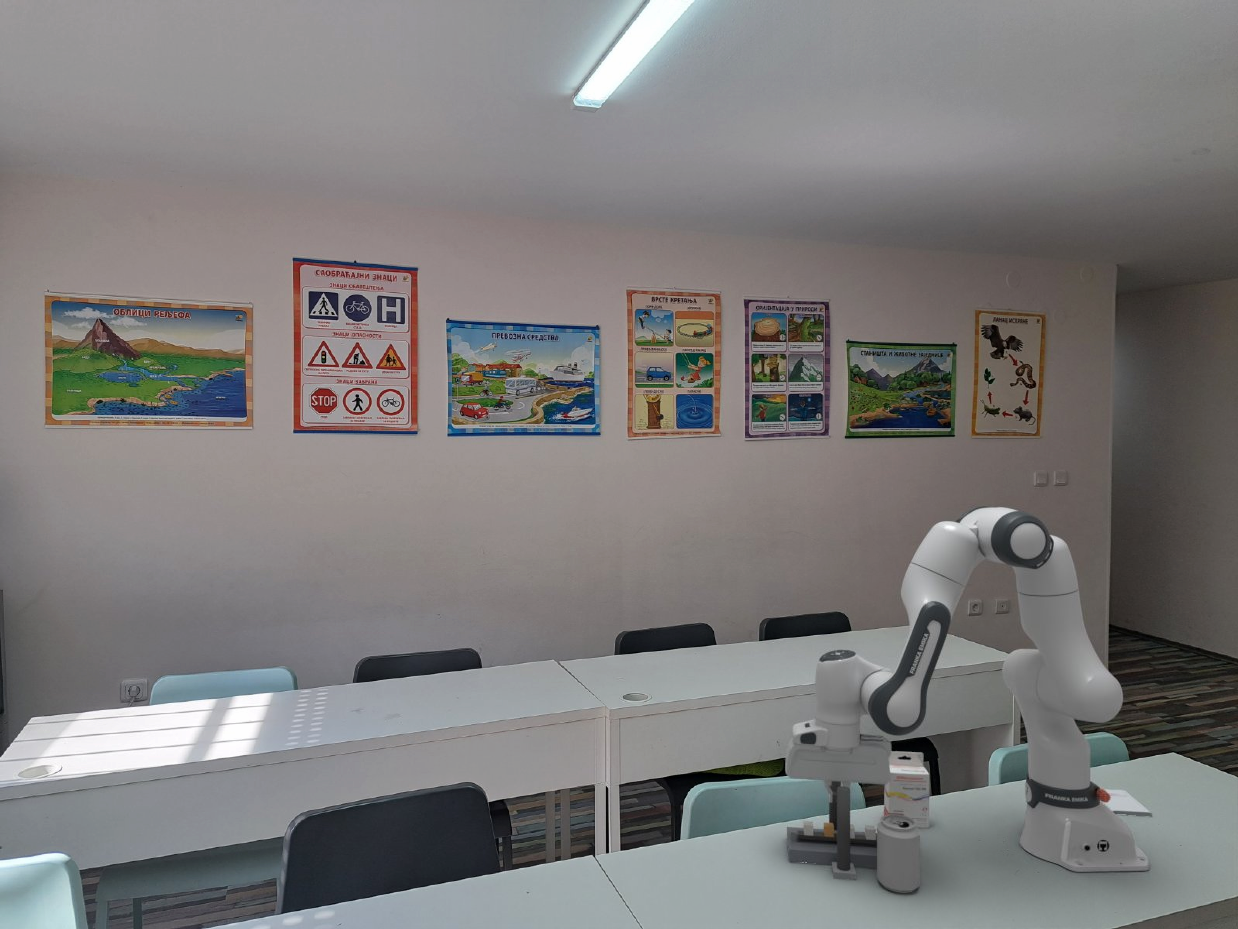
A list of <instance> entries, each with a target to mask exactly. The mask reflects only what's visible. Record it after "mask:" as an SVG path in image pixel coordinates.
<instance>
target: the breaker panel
mask: <svg viewBox="0 0 1238 929" xmlns="http://www.w3.org/2000/svg"><path fill="white" fill-rule="evenodd" d="M798 830H800V831H803V827H797V826H795V827H793V826H786V842H787V843H786V845H787V844H788V845H787V853H788V855H789V856H788V862H789V861H790V862H789V863H793V862H804V863H803V864H806V863H805V862H807V863H816V864H815V865H820V864H822V865H823V866H832V862H837V842H836V841H822V840H808V839H798ZM813 831H814V832H824V828H823V829H822V828H813ZM834 833H837V830H834ZM855 834H857V835H865V831H864V832H863V831H855ZM876 836H877V832H876ZM850 863H853V865H854V868H858V869H859V868H862V869H871V870H872V869H873V870H877V844H864V843H850ZM822 865H821V866H822Z"/></svg>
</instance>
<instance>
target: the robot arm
mask: <svg viewBox="0 0 1238 929" xmlns="http://www.w3.org/2000/svg"><path fill="white" fill-rule="evenodd" d="M985 560H986V561H988V562H992V563H996V564H1006V565H1008V566H1011V567H1012V569H1013V571H1014V574H1015V583H1016V584H1015V585H1016V591H1017V592H1016V593H1017V599H1018V600H1017V601H1018V608H1019V616H1020V624H1021V628H1022V630H1023V632H1024V633H1025V634H1026V636H1027V637H1029V639H1030V640H1031V641H1032V642H1033V644H1034V645H1035V647H1036V648H1019V649H1015V650H1013V651H1012V652H1010V653H1009V654H1008V655H1006V658H1005V659H1004V662H1003V664H1002V668H1001V673H1002V680H1003V682H1004V685H1005V686H1006V687H1007V688H1008V690H1009V691H1010V692H1011V693H1012V695H1013V697H1014V699H1015V700H1016V703H1017V705H1018V708H1019V710H1020V715H1021V716H1022V721H1023V723H1024V728H1025V733H1026V737H1027V738H1026V739H1027V756H1028V757H1027V758H1028V759H1027V760H1028V761H1027V762H1028V765H1027V766H1028V769H1027V770H1028V772H1027V773H1026V774H1025V784H1024V786H1025V787H1024V790H1025V791H1024V793H1025V794H1024V795H1025V801H1026V809H1025V818H1024V823H1023V827H1022V831H1021V834H1020V837H1019V838H1018V839H1019V840H1018V841H1019V845H1020V846H1021V847H1022V848H1023V850H1025V851H1027V852H1028V853H1030V854H1031V855H1033V856H1035V857H1037V858H1040V859H1042V860H1044V861H1047V862H1051V863H1054V864H1057V865H1060V866H1062V867H1063V868H1065V869H1068V870H1070V871H1072V872H1078V873H1081V872H1082V873H1085V872H1087V873H1089V872H1135V871H1136V872H1138V871H1139V872H1140V871H1142V872H1144V871H1149V869H1150V862H1149V858H1148V856H1147V855H1146V854H1145V853H1144V851H1143V850H1142V849H1141V848H1140V847H1138V845H1136V844H1135V840H1134V836H1133V833H1132V831H1131V829H1130V827H1129V826H1128V825H1127V823H1126V822H1125V821H1124V820H1123V819H1122V818H1121V817H1119V815H1116V814H1115V813H1113V812H1112V811H1111V810H1110V809H1108V808H1107V807H1106V806H1105V805H1103V804H1102V803H1101V802H1100V800H1101V801H1102V802H1105V803H1107V802H1109V801H1108V800H1111V799H1109V798H1111V797H1110V795H1109V793H1107V792H1106V791H1105V790H1104V789H1105V788H1101V787H1100V786H1099V785H1097V784H1096V783H1094V782H1093V781H1091V746H1090V743H1089V740H1088V739H1087V738H1086V736H1085V735H1084V734H1083V733H1082V731H1081V730H1080V729H1079V727H1078V725H1077V723H1076V721H1075V720H1077V721H1084V722H1090V723H1099V724H1100V723H1103V724H1104V723H1108V722H1109V721H1111V720H1113V719H1115V717H1116V716H1117V715H1118V714H1119V712H1120V711H1121V709H1122V706H1123V701H1124V694H1123V690H1122V686H1121V684H1120V682H1119V681H1118V679H1117V678H1116V677H1114V675H1113V674H1112V673H1111V672H1110V671H1109V670H1108V669H1107V667H1106V666H1105V665H1104V663H1103V662H1102V660H1101V659H1100V657H1099V656H1098V654H1097V652H1096V651H1095V649H1094V646H1093V644H1092V642H1091V640H1090V638H1089V636H1088V632H1087V629H1086V627H1085V623H1084V618H1083V611H1082V604H1081V597H1080V589H1079V581H1078V577H1077V571H1076V567H1075V564H1074V560H1073V557H1072V553H1071V550H1070V549H1069V546H1068V544H1067V543H1066V541H1065V540H1064V539H1062V538H1060V537H1059V536H1056V535H1053V534H1050V532H1049V530H1048V528H1047V527H1046V525H1045V523H1044V522H1043V521H1041V520H1040V518H1038V517H1036V516H1035V515H1033V514H1031V513H1029V512H1026V511H1022V510H1016V509H1013V508H1010V507H1006V506H1005V507H1004V506H1003V507H1002V506H998V507H992V506H985V505H984V506H976V507H974V508H971V509H968V510H967V511H965V512H963V514H962V515H961V516H960V517H959V518H958V519H956V520H955V521H948V520H945V521H944V520H943V521H940V522H937V523H935V524H934V525H933V526H932V527H931V529H930V530H929V531H928V532H927V534H926V536H925V537H924V538H923V540H922V541H921V543H920V544H919V545H918V548H917V549H916V551H915V553H914V555H913V557H912V559H911V561H910V563H909V564H908V568H907V570H906V571H905V574H904V577H903V580H902V584H901V588H900V596H901V597H900V598H901V601H902V604H903V606H904V608H905V610H906V613H907V616H908V622H909V623H908V624H909V627H908V628H909V630H908V635H907V638H906V641H905V644H904V647H903V648H902V652H901V654H900V656H899V659H898V662H897V664H896V667H895V669H894V671H893V670H892V669H891V668H888V667H886V666H883V665H879V664H875V663H873V662H871V661H868V660H867V659H865V658H863V657H862V656H860V655H859V654H858V653H857V652H855V651H853V650H850V649H836V650H829V651H828V652H825V653H824V654H822V655H821V656H820V658H819V659H818V662H817V664H816V672H815V680H814V697H815V701H816V709H815V712H814V719H810V720H809V719H808V720H806V721H801V722H798V723H795V724H793V726H792V728H791V729H792V730H791V731H792V732H791V734H792V737H791V739H790V740H789V741H788V743H787V748H786V753H785V754H786V755H785V763H784V764H785V767H784V768H785V769H784V770H785V774H786V775H787V777H788V778H789V779H794V780H795V779H797V780H798V779H799V780H808V781H809V780H812V781H822V782H823V786H824V788H825V789H826V791H827V793H828V803H829V802H830V803H837V791H832V790H831V788H830V786H831V781H838V782H841V784H842V786H844V787H848V788H850V789H851V783H858V784H867V785H868V784H871V785H886V784H887V783H888V782H889V781H890V766H889V760H888V758H889V757H890V755H891V751H892V742H891V741H890V740H889V739H888V738H887V737H884V735H880V734H876V735H875V734H868V733H867V734H865V733H861V718H862V716H864V715H865V716H870V718H871V719H872V721H873V723H874V724H875V726H876V727H877V728H878V729H879V730H881V731H882V732H883V733H886V734H887V735H889V736H890V735H892V736H896V737H898V736H899V737H900V736H907V735H909V734H912V733H913V732H914V731H917V729H918V728H919V727H920V726H921V725H922V724H923V722H924V719H925V718H926V714H927V696H928V695H927V694H928V689H929V684H930V682H931V679H932V676H933V675H934V672H935V669H936V666H937V663H938V661H939V658H940V655H941V653H942V650H943V648H944V646H945V642H946V639H947V636H948V633H949V629H950V626H951V623H952V619H953V616H954V613H955V610H956V608H957V606H958V603H959V601H960V598H961V596H962V594H963V593H964V590H965V587H966V586H967V584H968V581H969V579H970V576H971V574H972V572H973V570H974V569H976V567H977V566H978V565H979V564H980V563H981V562H982V561H985Z"/></svg>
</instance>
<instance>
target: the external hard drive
mask: <svg viewBox="0 0 1238 929" xmlns="http://www.w3.org/2000/svg"><path fill="white" fill-rule="evenodd" d="M1103 789H1104V790H1105V791H1106V792H1107V793H1109V795H1110V797H1111V798H1109V799H1111V800H1108V801H1109V802H1107V803H1105V802H1102V801H1101V800H1100V801H1101V803H1102V804H1104V805H1105V806H1106V807H1107V808H1108V809H1110V810H1111V811H1112V812H1113V813H1115V814H1126V815H1125V816H1128V815H1136V816H1135V817H1145V816H1149V817H1148V818H1153V813H1152V812H1151V811H1150V810H1149V809H1147V807H1145V806H1144V805H1143V804H1142V803H1140V802H1139V801H1138V800H1137V799H1136V798H1135V797H1133V795H1131V794H1130V793H1129V792H1128V791H1126V790H1125V789H1107V788H1103Z"/></svg>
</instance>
